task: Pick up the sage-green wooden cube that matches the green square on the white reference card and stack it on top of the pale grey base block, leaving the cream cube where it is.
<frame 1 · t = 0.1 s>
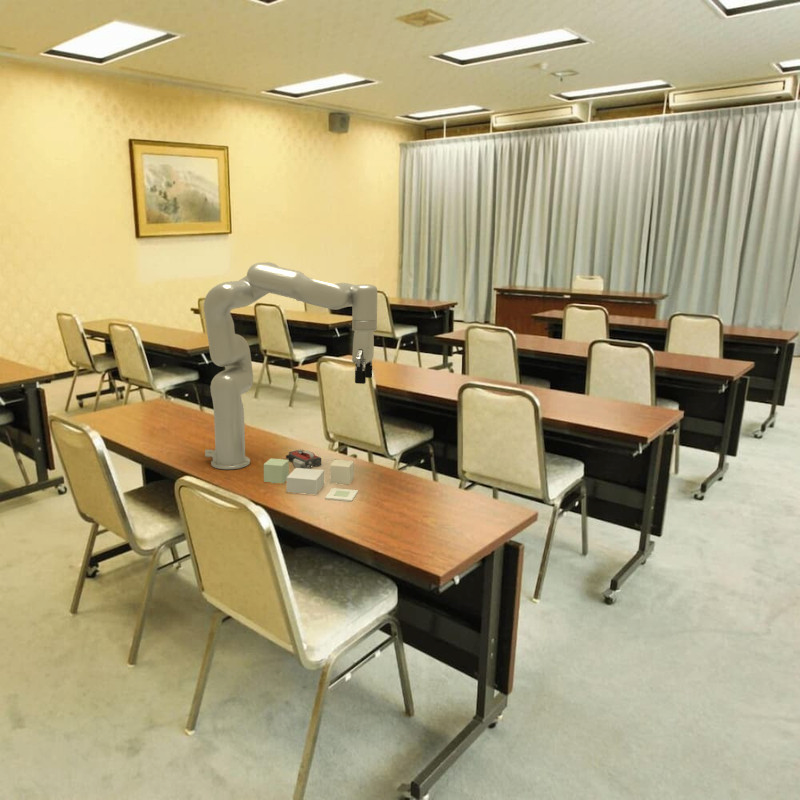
hand: (363, 380, 204), 31 cm above the table, tool pointing down, fingers open, 9 cm apart
walkie-talkie: (307, 466, 219), on the table
base block: (305, 489, 198), on the table
sage cube: (276, 480, 205), on the table
cream cube: (342, 481, 205), on the table
reference card: (341, 495, 193), on the table
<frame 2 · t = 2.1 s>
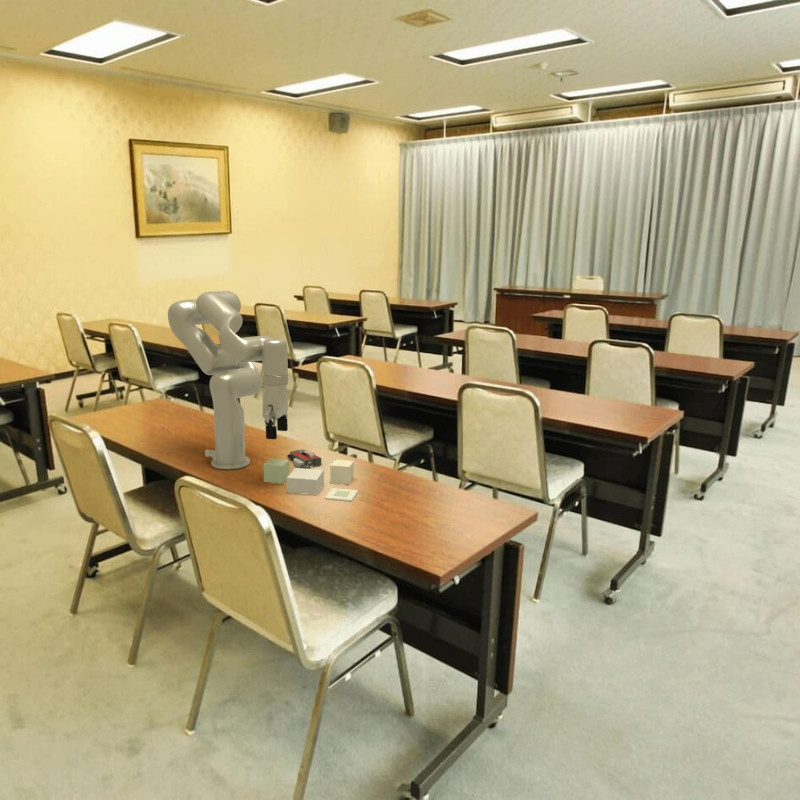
hand: (277, 434, 201), 15 cm above the table, tool pointing down, fingers open, 9 cm apart
nothing on the table moved.
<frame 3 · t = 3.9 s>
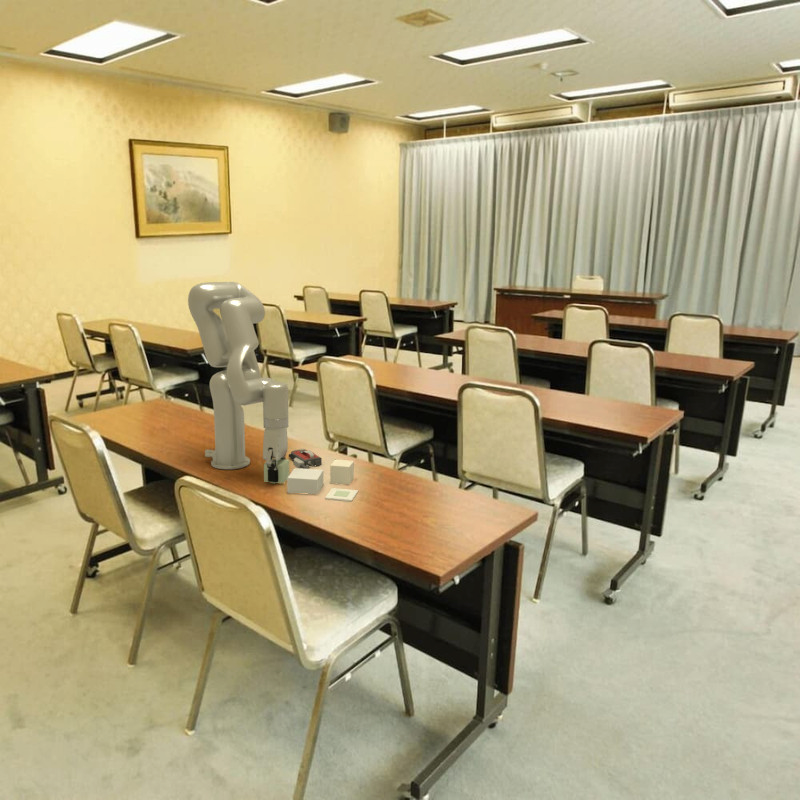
hand: (276, 477, 204), 1 cm above the table, tool pointing down, fingers closed on sage cube, 6 cm apart
sage cube: (276, 480, 205), on the table, touching gripper
everything else where it was.
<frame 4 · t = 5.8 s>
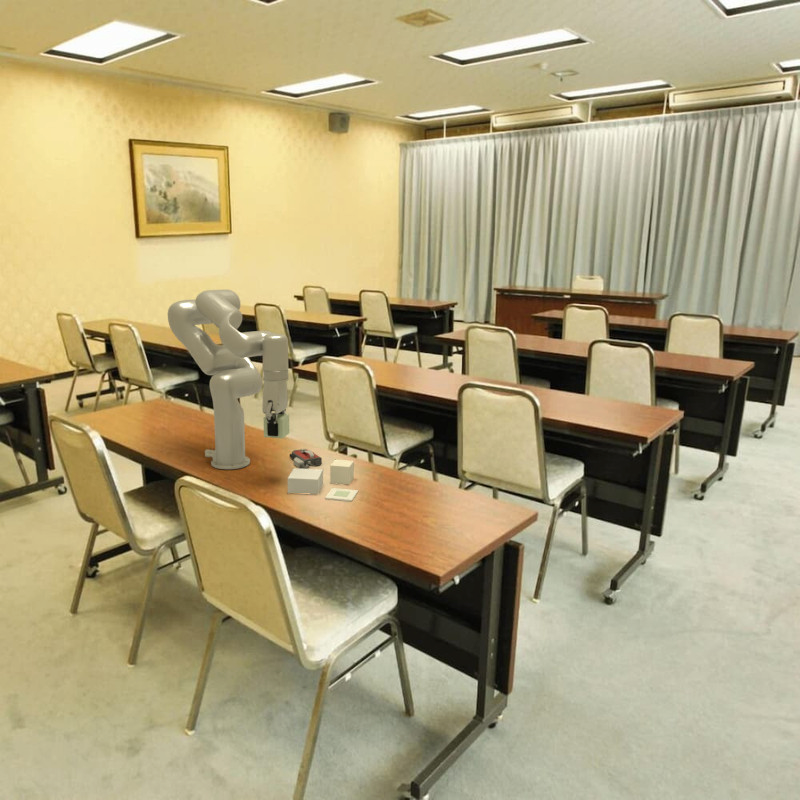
hand: (276, 432, 201), 16 cm above the table, tool pointing down, fingers closed on sage cube, 6 cm apart
sage cube: (276, 435, 201), point 15 cm above the table, touching gripper
everything else where it was.
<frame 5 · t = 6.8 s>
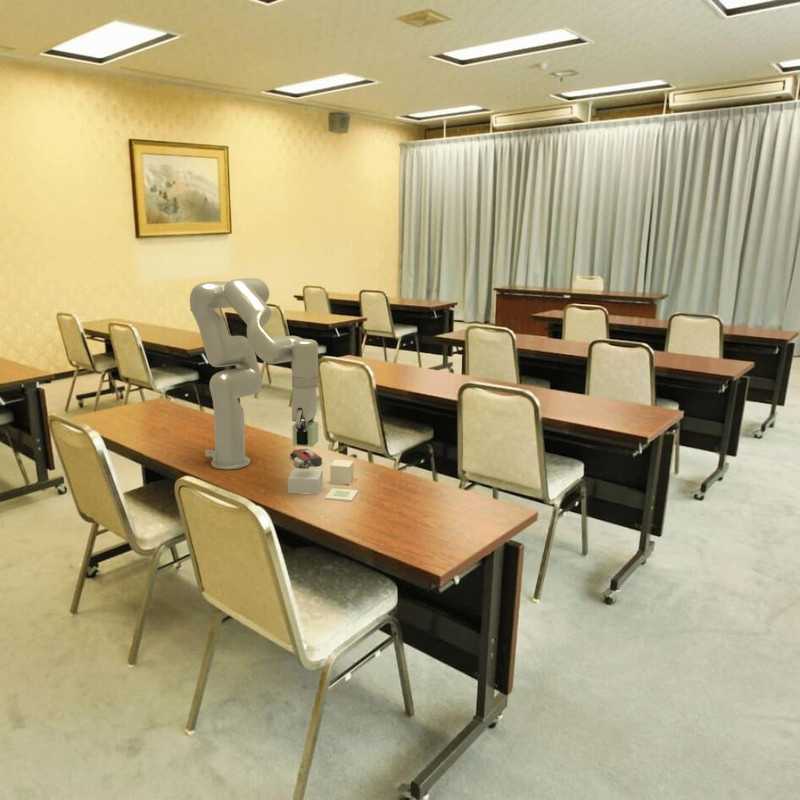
hand: (305, 440, 195), 15 cm above the table, tool pointing down, fingers closed on sage cube, 6 cm apart
sage cube: (305, 443, 195), point 14 cm above the table, touching gripper
when the fingers open (7 cm above the table, at t = 8.6 s): sage cube drops 2 cm, resting on base block.
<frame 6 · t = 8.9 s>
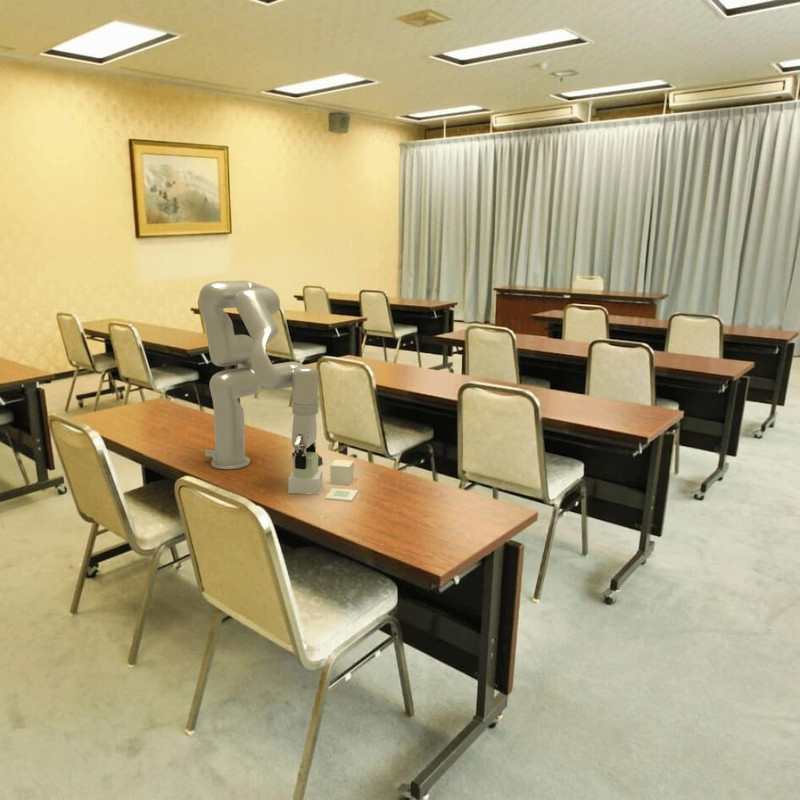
hand: (305, 463, 196), 8 cm above the table, tool pointing down, fingers open, 9 cm apart
base block: (305, 489, 198), on the table, touching sage cube
sage cube: (305, 473, 197), point 5 cm above the table, touching base block
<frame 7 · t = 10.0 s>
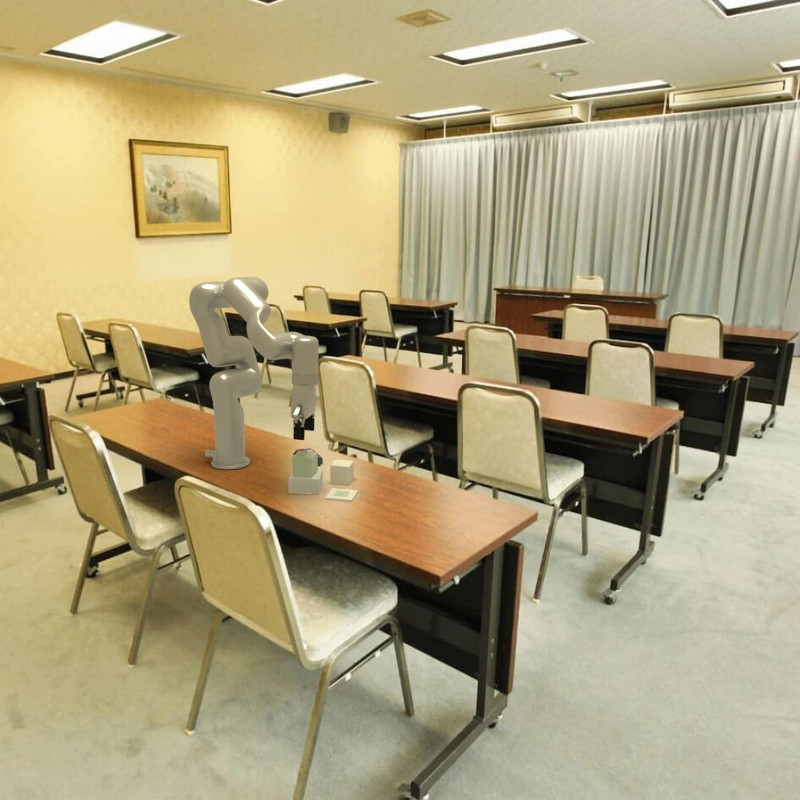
hand: (304, 434, 195), 17 cm above the table, tool pointing down, fingers open, 9 cm apart
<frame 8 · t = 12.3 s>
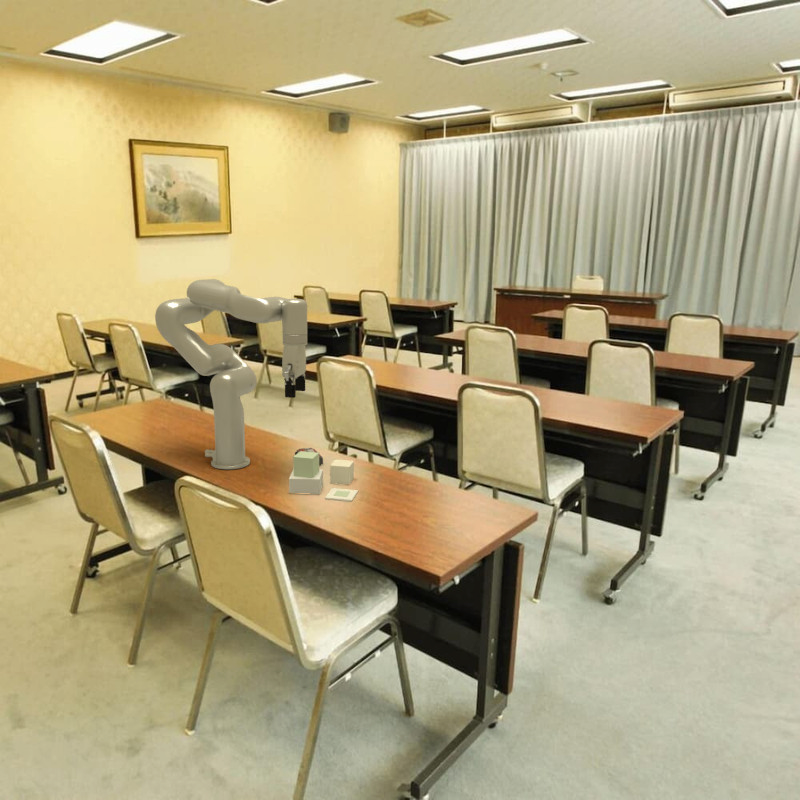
hand: (295, 393, 205), 26 cm above the table, tool pointing down, fingers open, 9 cm apart
base block: (306, 489, 198), on the table
sage cube: (306, 473, 197), point 5 cm above the table
at the end: sage cube 0.1 cm off-centre on the base block, point 5.0 cm above the base block's base; sage cube tilted 0°; cream cube moved 0.1 cm from its start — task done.
